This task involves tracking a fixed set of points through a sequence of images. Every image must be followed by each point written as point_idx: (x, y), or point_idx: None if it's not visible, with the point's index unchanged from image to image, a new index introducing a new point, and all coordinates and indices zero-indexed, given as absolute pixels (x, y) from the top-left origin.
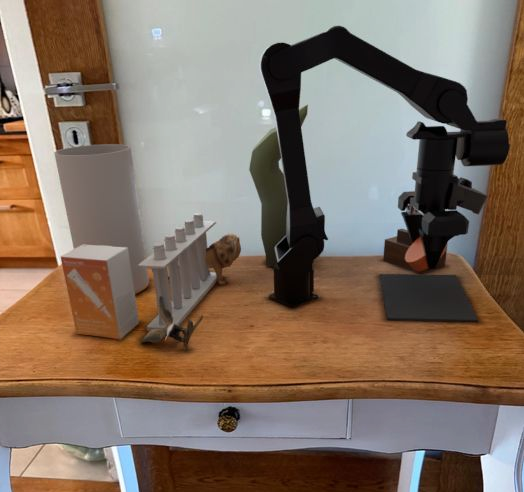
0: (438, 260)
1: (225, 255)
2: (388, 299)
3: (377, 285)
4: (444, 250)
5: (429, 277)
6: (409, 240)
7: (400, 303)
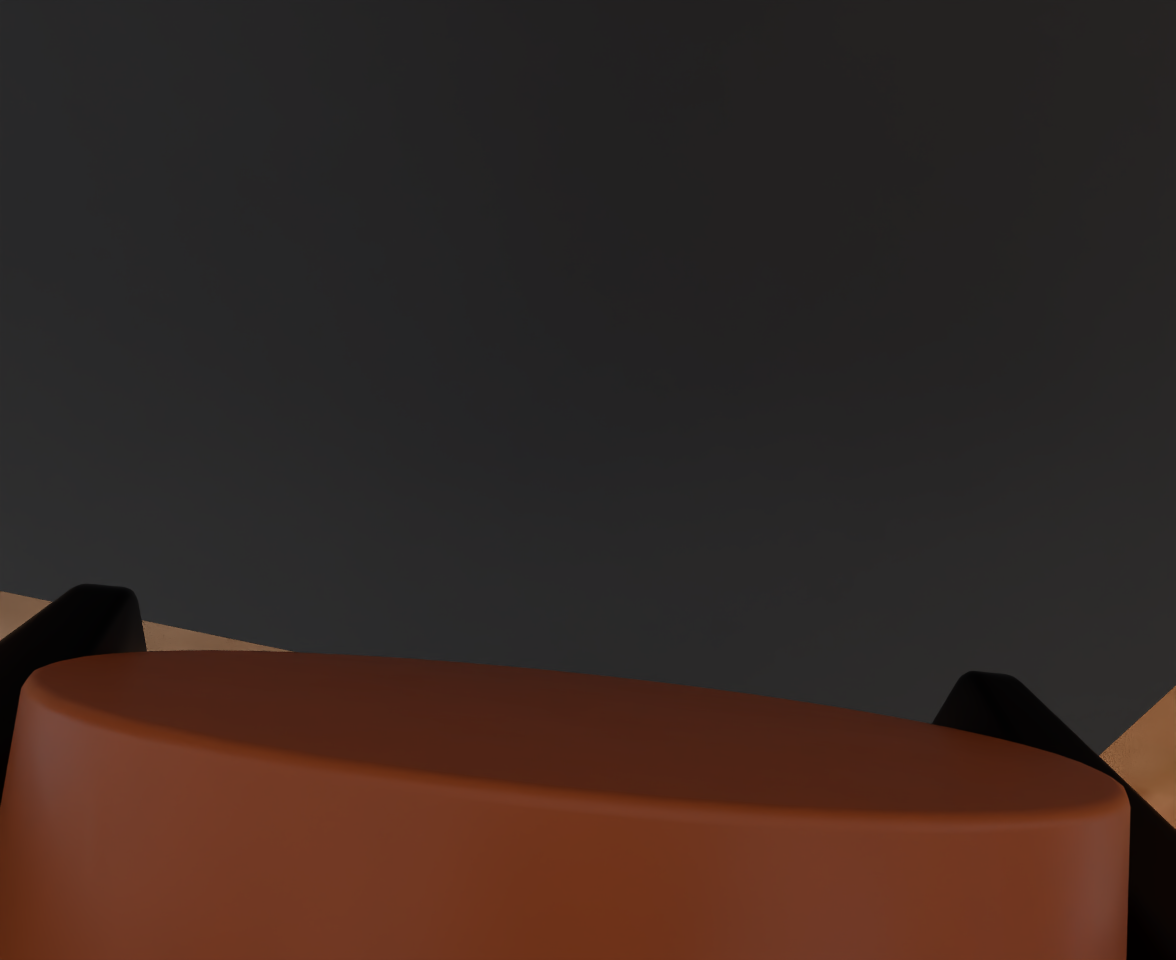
0: (1163, 823)
1: None
2: None
3: (257, 650)
4: (1125, 843)
5: (43, 6)
6: None
7: (836, 658)
